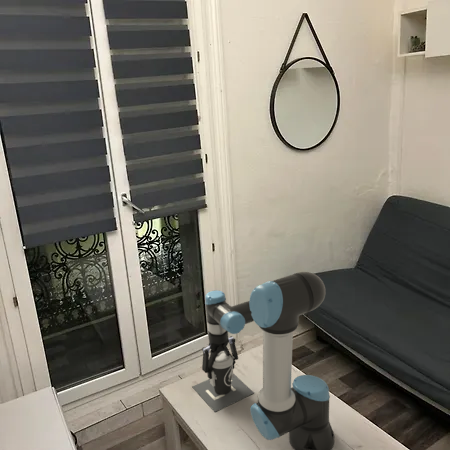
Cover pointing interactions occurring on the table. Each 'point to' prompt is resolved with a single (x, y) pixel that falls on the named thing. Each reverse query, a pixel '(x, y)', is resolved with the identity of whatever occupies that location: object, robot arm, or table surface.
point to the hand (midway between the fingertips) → (221, 380)
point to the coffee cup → (222, 373)
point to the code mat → (222, 401)
